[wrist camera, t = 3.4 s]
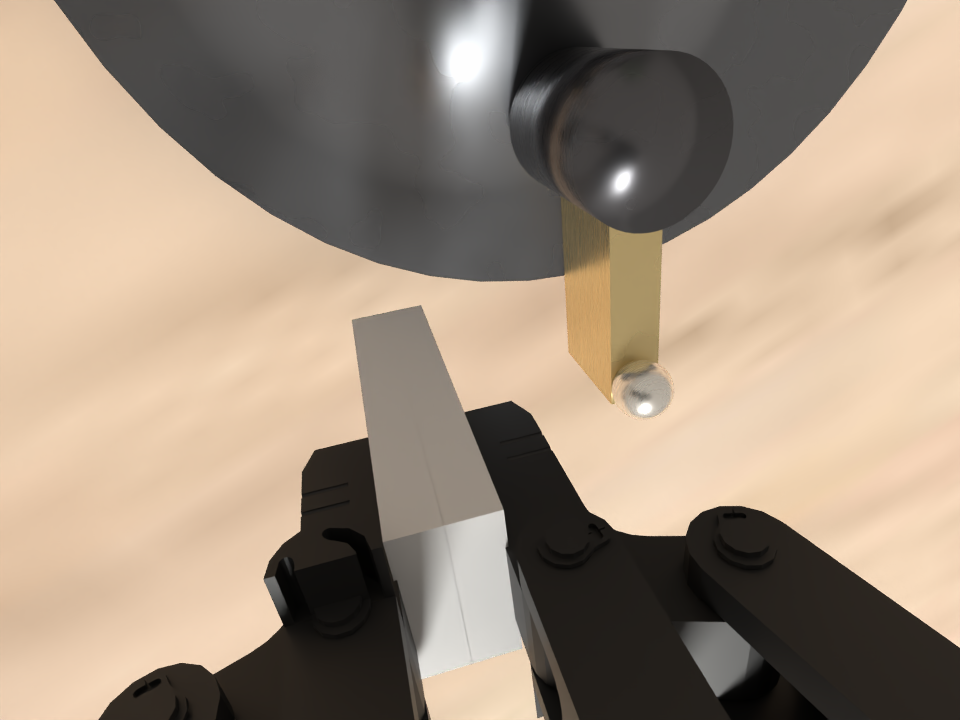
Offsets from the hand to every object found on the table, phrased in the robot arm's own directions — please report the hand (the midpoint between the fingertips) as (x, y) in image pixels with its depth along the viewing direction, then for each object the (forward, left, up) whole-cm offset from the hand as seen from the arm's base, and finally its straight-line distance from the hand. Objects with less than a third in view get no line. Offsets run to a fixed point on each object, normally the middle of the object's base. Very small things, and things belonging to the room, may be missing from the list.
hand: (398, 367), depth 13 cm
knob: (+1, +6, -3) cm, 6 cm away
